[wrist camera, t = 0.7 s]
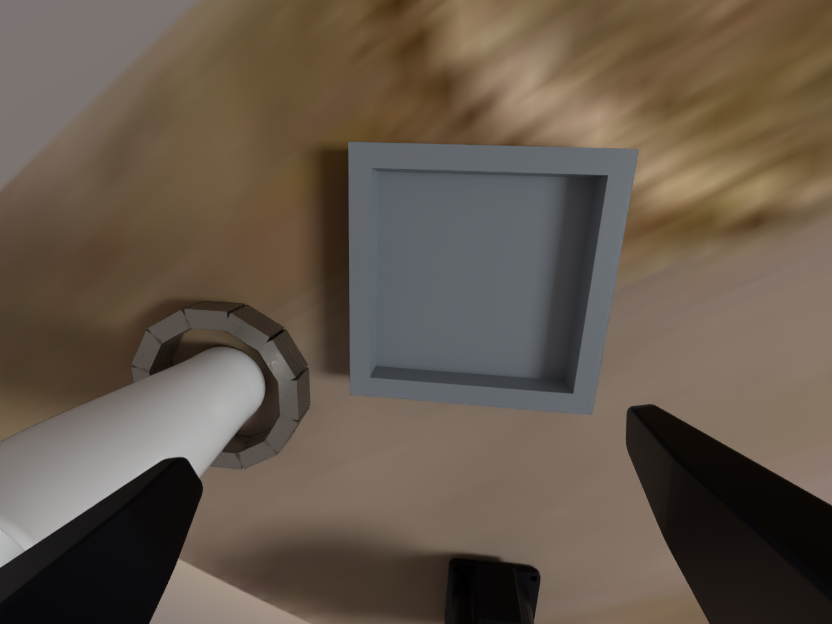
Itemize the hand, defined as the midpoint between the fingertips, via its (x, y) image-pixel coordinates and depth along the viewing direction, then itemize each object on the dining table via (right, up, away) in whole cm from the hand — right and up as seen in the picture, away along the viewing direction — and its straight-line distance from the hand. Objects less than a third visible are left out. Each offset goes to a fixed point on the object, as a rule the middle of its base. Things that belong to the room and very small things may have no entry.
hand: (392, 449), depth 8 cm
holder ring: (-12, -2, +19) cm, 22 cm away
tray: (+4, +5, +15) cm, 16 cm away
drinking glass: (-12, -2, +19) cm, 23 cm away
